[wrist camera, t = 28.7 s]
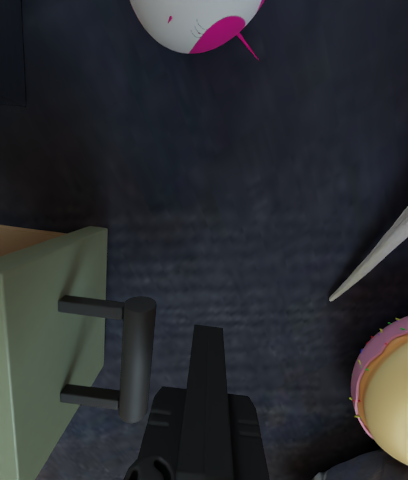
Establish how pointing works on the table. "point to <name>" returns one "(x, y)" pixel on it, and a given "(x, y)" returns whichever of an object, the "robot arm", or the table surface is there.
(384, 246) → the jawbone
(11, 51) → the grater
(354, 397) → the doughnut
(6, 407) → the drawer
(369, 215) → the table surface
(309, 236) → the table surface
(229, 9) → the stress ball
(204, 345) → the robot arm
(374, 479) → the bird model
